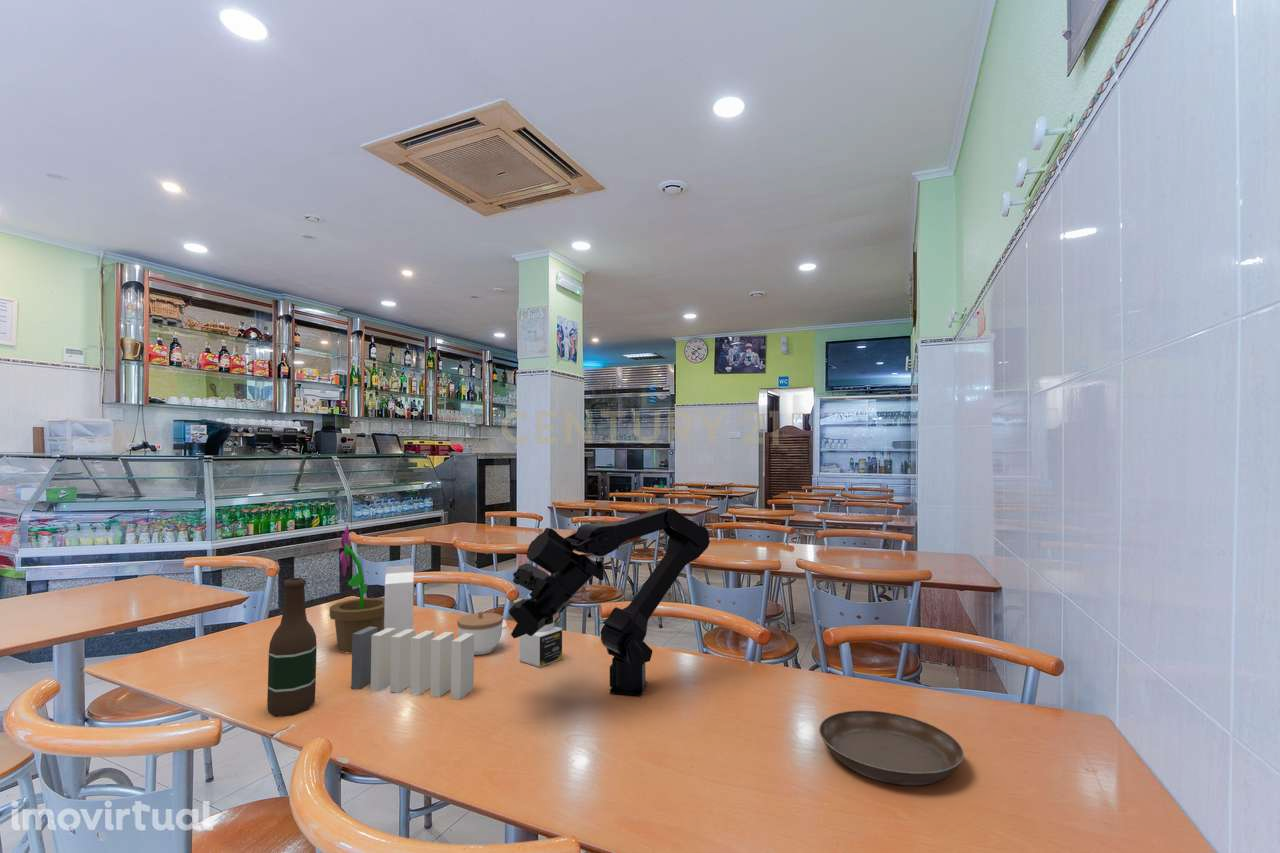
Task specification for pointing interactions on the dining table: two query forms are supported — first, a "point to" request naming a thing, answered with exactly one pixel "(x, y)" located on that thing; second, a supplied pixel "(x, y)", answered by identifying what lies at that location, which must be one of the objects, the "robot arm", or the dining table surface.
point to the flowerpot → (355, 604)
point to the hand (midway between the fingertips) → (513, 636)
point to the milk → (399, 598)
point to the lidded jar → (482, 630)
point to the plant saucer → (891, 747)
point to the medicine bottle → (541, 646)
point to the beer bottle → (292, 656)
